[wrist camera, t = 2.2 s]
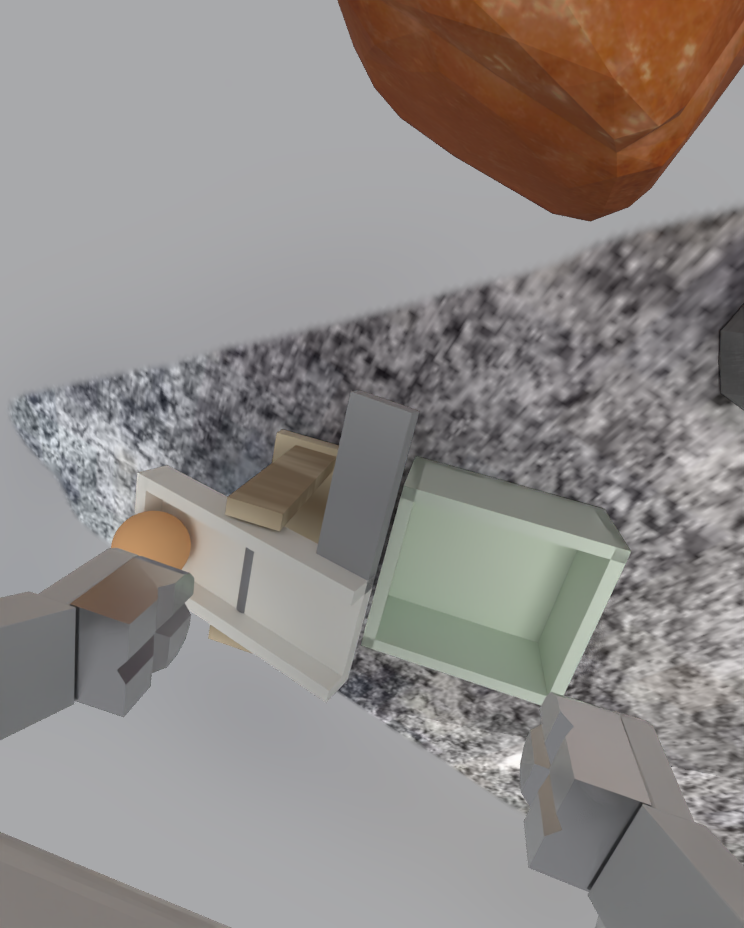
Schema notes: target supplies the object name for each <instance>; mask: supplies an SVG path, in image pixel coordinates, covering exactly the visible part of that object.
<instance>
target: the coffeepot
mask: <svg viewBox="0 0 744 928" xmlns="http://www.w3.org/2000/svg"><path fill="white" fill-rule="evenodd" d="M719 371H720V377H721V394H723V395H724V396H726V397H727V398H728V399H730V400H731V401H732V402H734V403H735V404H736V405H738V406H739V407H740V408H741V409H743V410H744V304H743V305H742V306H741V308H740V309H739V310H738V311H737V313H736V314H735V315H734V317H733V318H732V319H731V320H730V322H729V323H728V324H727V325H726V326H725V327H724V328H723V329H722V330H721V339H720V352H719Z"/></svg>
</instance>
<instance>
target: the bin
mask: <svg viewBox="0 0 744 928" xmlns="http://www.w3.org/2000/svg"><path fill="white" fill-rule="evenodd" d="M630 553H631V550H630V549H629V547H628V546H627V544H626V542H625V541H624V539H623V538H622V536H621V535H620V533H619V531H618V530H617V528H616V527H615V525H614V524H613V522H612V521H611V519H610V517H609V516H608V514H607V513H606V511H605V510H604V509H603V508H599V507H596V506H592V505H588V504H585V503H581V502H578V501H574V500H571V499H567V498H564V497H560V496H557V495H553V494H549V493H546V492H542V491H539V490H535V489H532V488H528V487H525V486H521V485H517V484H514V483H510V482H507V481H503V480H500V479H496V478H493V477H489V476H486V475H482V474H478V473H475V472H471V471H468V470H464V469H461V468H457V467H454V466H450V465H447V464H443V463H439V462H436V461H432V460H429V459H425V458H422V457H418V456H416V457H415V459H414V462H413V464H412V467H411V469H410V471H409V474H408V476H407V479H406V481H405V484H404V487H403V490H402V494H401V498H400V501H399V505H398V509H397V512H396V516H395V520H394V523H393V527H392V531H391V535H390V538H389V542H388V546H387V549H386V553H385V557H384V560H383V564H382V568H381V572H380V575H379V579H378V583H377V586H376V590H375V594H374V597H373V601H372V605H371V608H370V612H369V616H368V620H367V623H366V627H365V631H364V634H363V638H362V642H361V646H364V647H367V648H370V649H373V650H376V651H379V652H382V653H385V654H388V655H391V656H394V657H397V658H400V659H403V660H406V661H409V662H412V663H415V664H418V665H421V666H424V667H427V668H430V669H433V670H436V671H439V672H442V673H445V674H448V675H451V676H454V677H457V678H460V679H463V680H466V681H469V682H472V683H475V684H478V685H481V686H484V687H487V688H490V689H493V690H496V691H499V692H502V693H505V694H508V695H511V696H514V697H517V698H520V699H523V700H526V701H529V702H532V703H535V704H538V705H542V703H543V701H544V699H545V697H546V696H547V695H548V694H549V693H550V692H554V693H557V694H560V695H563V696H564V693H565V691H566V689H567V687H568V685H569V683H570V681H571V679H572V676H573V674H574V672H575V670H576V668H577V666H578V664H579V662H580V659H581V657H582V655H583V653H584V651H585V649H586V647H587V645H588V642H589V640H590V638H591V636H592V634H593V632H594V630H595V628H596V625H597V623H598V621H599V619H600V617H601V615H602V613H603V611H604V608H605V606H606V604H607V602H608V600H609V598H610V596H611V594H612V591H613V589H614V587H615V585H616V583H617V581H618V579H619V577H620V575H621V572H622V570H623V568H624V566H625V564H626V562H627V560H628V558H629V555H630Z"/></svg>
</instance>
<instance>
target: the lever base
mask: <svg viewBox="0 0 744 928" xmlns="http://www.w3.org/2000/svg"><path fill="white" fill-rule="evenodd" d="M338 448H339V445H336V444H332V443H329V442H325V441H322V440H318V439H315V438H311V437H308V436H304V435H301V434H297V433H294V432H290V431H287V430H283V429H282V430H280V431H279V432H277V434H276V440H275V447H274V453H273V459H272V463H271V464H270V465H269V466H268V467H266V468H265V469H264V470H262V471H261V472H260V473H258V474H257V475H256V476H254V477H253V478H252V479H250V480H249V481H248V482H246V483H245V484H244V485H243V486H241V487H240V488H239V489H237V490H236V491H235V492H233V493H232V494H231V495H229V496H228V497H227V504H226V511H225V515H228V516H232V517H235V518H238V519H241V520H245V521H248V522H251V523H254V524H257V525H261V526H264V527H267V528H270V529H273V530H277V531H281V529H282V528H283V527H284V526H285V527H287V528H288V529H290V530H292V531H294V532H296V533H298V534H300V535H302V536H304V537H306V538H308V539H310V540H311V541H313V542H315V543H317V544H318V542H319V537H320V532H321V528H322V523H323V518H324V514H325V509H326V504H327V500H328V495H329V490H330V486H331V481H332V476H333V471H334V467H335V462H336V457H337V453H338ZM208 638H209V639H211V640H215V641H217V642H221V643H223V644H226V645H229V646H232V647H235V648H238V649H240V650H243V651H246V652H249V653H252V652H250V651H249V650H247V649H246V648H244V647H243V646H241V645H240V644H238V643H237V642H235V641H234V640H232V639H231V638H229V637H228V636H227V635H225V634H224V633H222V632H221V631H219V630H218V629H216V628H215V627H213V626H212V625H210V630H209V637H208Z"/></svg>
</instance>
